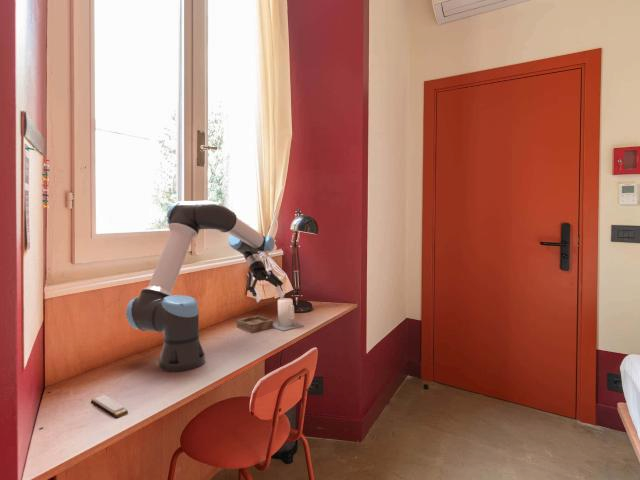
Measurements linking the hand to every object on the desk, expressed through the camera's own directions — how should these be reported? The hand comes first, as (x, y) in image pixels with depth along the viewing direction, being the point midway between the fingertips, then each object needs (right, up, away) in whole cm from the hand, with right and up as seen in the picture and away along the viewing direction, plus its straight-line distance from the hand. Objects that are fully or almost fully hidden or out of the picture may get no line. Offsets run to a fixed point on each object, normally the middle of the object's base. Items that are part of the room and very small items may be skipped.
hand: (271, 299), depth 186 cm
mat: (+8, -11, -7) cm, 16 cm away
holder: (-6, -12, -9) cm, 16 cm away
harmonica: (-33, -17, -83) cm, 91 cm away
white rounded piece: (+9, -11, -8) cm, 16 cm away
